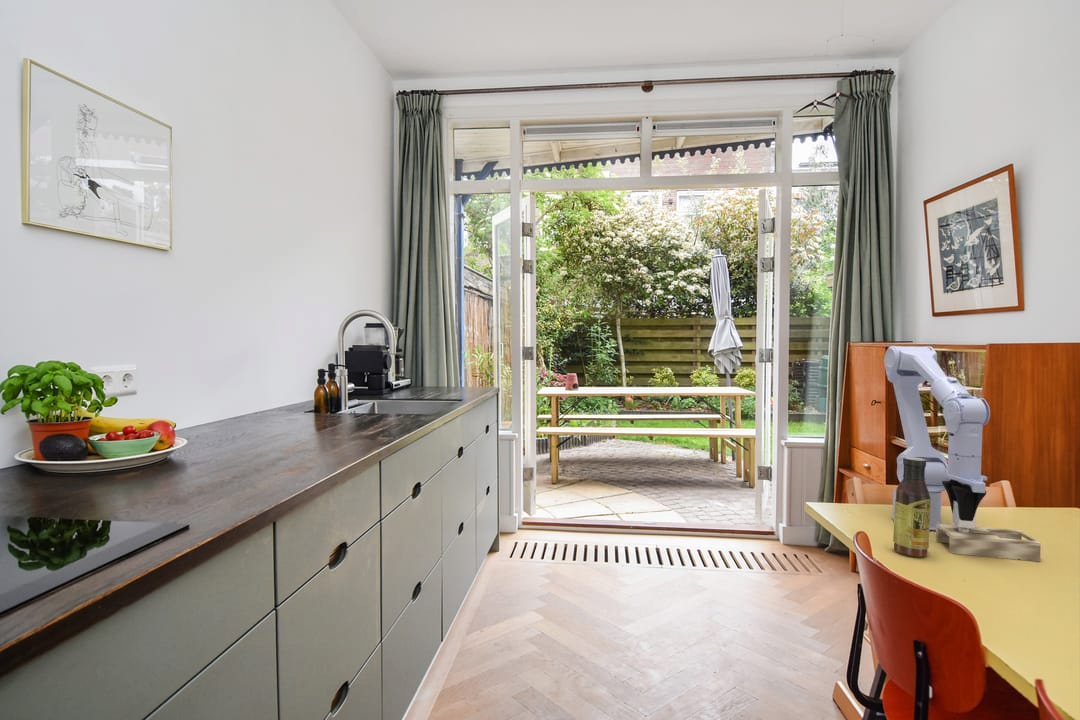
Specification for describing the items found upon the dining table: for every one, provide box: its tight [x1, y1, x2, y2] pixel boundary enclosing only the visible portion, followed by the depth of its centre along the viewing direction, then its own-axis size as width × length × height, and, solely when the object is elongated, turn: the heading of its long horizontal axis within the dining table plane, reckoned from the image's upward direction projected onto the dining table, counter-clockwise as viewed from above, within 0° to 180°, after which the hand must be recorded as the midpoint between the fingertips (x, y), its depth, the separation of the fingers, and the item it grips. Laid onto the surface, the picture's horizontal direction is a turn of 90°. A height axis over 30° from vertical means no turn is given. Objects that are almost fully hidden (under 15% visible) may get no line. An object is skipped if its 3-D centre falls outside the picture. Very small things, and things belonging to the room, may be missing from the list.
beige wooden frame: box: [935, 523, 1042, 562], centre depth 121 cm, size 16×8×4 cm, turn 74°
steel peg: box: [952, 500, 977, 533], centre depth 122 cm, size 4×4×9 cm
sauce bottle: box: [892, 457, 931, 558], centre depth 119 cm, size 6×6×20 cm
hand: (962, 517), depth 122 cm, fingers closed on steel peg, 3 cm apart
